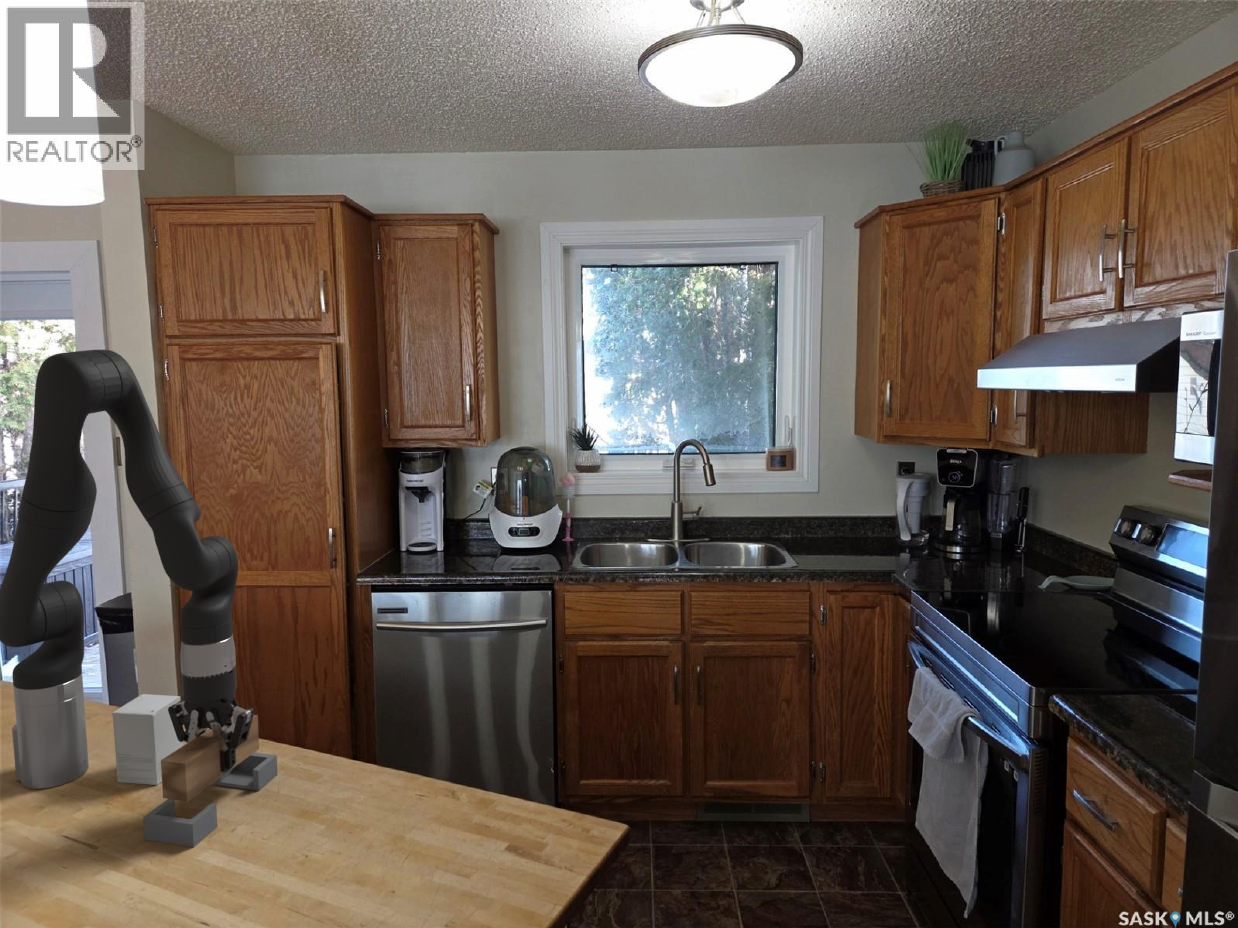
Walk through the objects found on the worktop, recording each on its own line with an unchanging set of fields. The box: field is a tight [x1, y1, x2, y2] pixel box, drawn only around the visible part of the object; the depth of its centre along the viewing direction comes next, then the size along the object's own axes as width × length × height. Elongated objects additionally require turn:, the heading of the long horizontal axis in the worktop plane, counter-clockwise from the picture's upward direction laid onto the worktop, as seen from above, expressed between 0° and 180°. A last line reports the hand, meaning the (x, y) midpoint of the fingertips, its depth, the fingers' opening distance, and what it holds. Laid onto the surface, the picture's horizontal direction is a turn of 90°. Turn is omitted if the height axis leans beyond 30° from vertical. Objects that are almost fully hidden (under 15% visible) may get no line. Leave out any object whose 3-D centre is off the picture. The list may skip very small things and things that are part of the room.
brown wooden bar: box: [161, 714, 260, 803], centre depth 120 cm, size 4×16×6 cm, turn 168°
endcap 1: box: [143, 799, 218, 848], centre depth 113 cm, size 8×5×4 cm, turn 80°
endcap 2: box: [214, 752, 278, 792], centre depth 128 cm, size 8×5×4 cm, turn 80°
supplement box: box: [111, 693, 184, 786], centre depth 129 cm, size 7×7×13 cm
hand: (213, 767), depth 120 cm, fingers closed on brown wooden bar, 4 cm apart
